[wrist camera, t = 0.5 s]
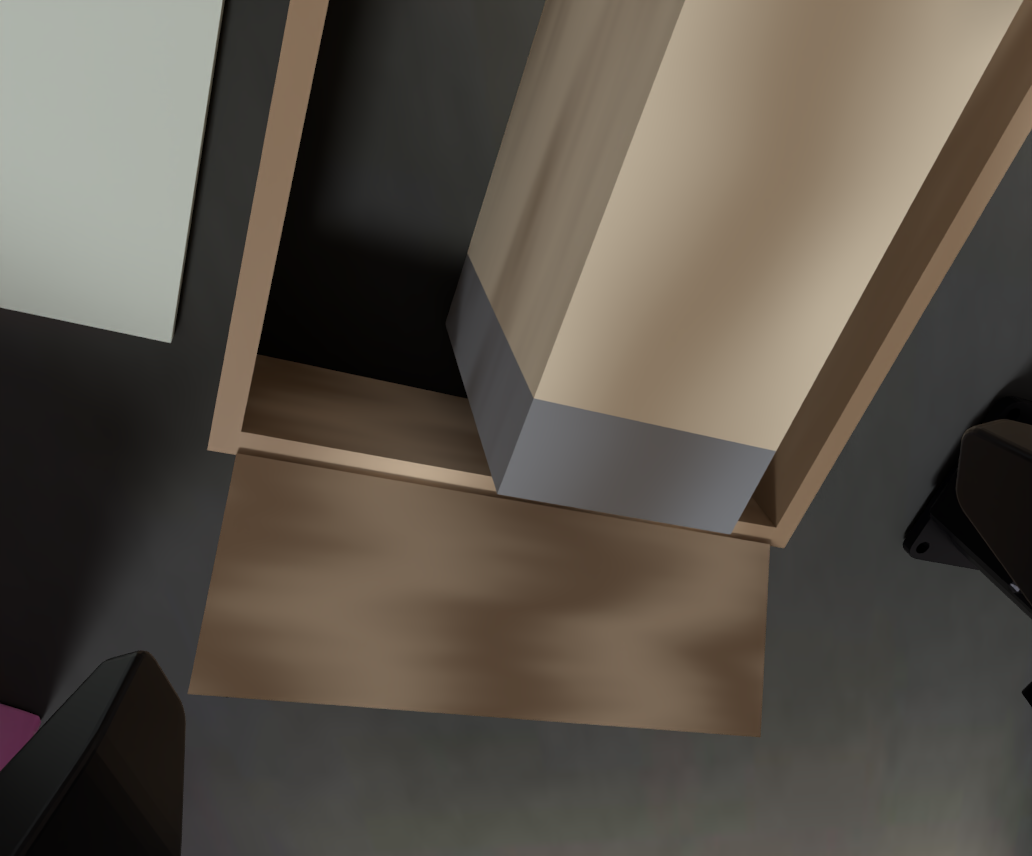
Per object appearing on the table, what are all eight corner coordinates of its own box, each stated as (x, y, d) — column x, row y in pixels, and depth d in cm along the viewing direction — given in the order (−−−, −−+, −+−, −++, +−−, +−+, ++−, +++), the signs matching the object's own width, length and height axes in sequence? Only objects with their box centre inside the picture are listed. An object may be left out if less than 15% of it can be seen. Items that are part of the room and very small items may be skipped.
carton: (1101, -253, 17) (1528, -373, 11) (674, 564, 27) (775, 743, 21) (430, -705, 12) (526, -1371, 6) (205, 492, 22) (155, 698, 16)
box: (771, -15, 18) (1025, -3, 12) (612, 363, 23) (730, 534, 16) (577, -102, 17) (740, -146, 10) (445, 323, 21) (497, 494, 14)
